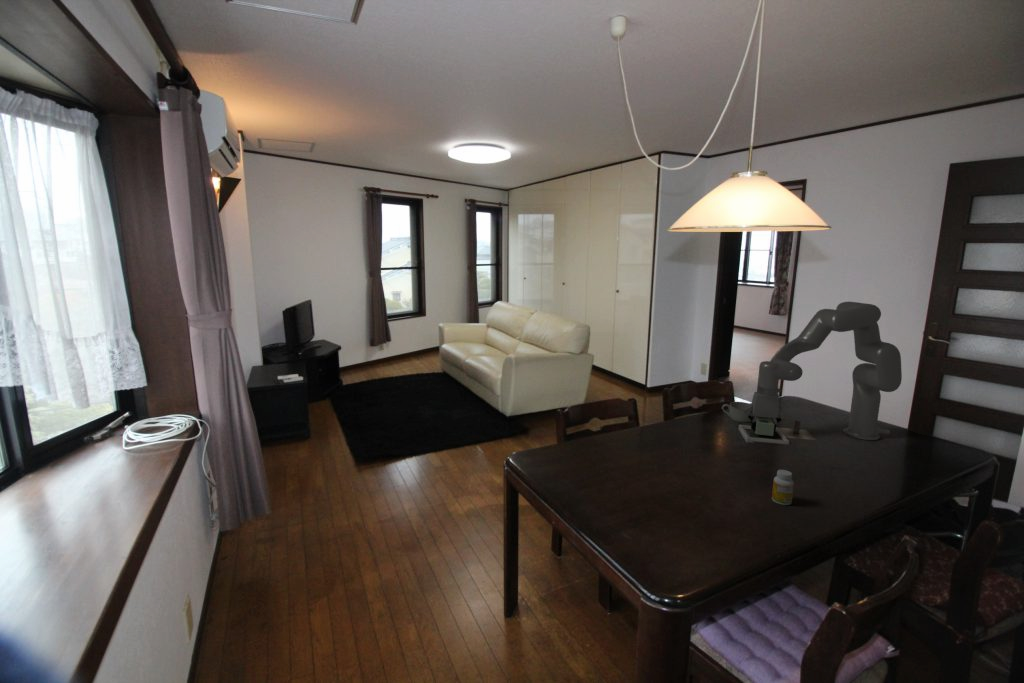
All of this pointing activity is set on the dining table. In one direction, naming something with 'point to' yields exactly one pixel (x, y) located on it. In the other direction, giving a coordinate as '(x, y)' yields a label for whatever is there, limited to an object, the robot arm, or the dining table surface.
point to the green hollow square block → (764, 427)
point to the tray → (750, 439)
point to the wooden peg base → (796, 432)
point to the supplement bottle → (783, 487)
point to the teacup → (738, 411)
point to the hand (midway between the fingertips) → (762, 430)
